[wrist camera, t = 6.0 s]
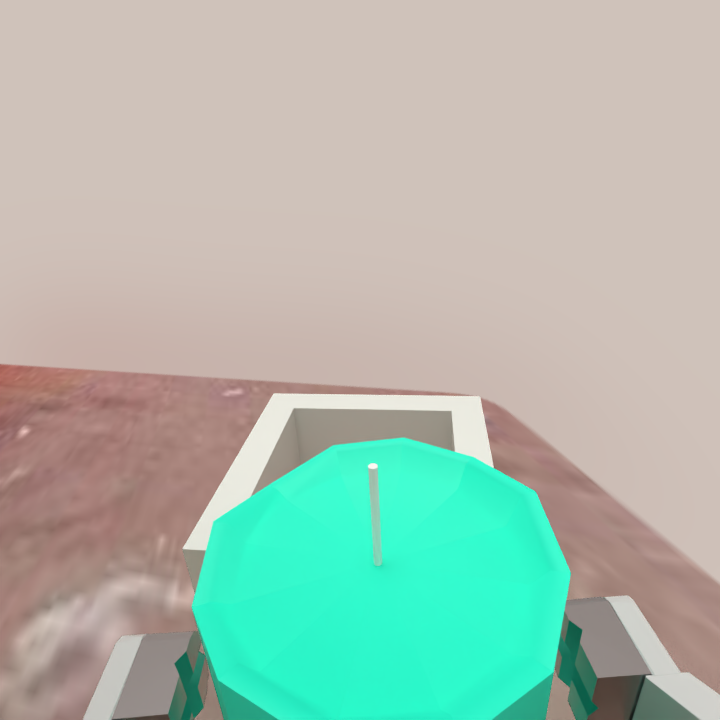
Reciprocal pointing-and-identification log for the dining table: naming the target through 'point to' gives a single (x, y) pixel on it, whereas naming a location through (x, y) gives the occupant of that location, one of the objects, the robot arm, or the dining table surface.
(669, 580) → the dining table surface
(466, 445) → the frame
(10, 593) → the dining table surface
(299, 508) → the candle
